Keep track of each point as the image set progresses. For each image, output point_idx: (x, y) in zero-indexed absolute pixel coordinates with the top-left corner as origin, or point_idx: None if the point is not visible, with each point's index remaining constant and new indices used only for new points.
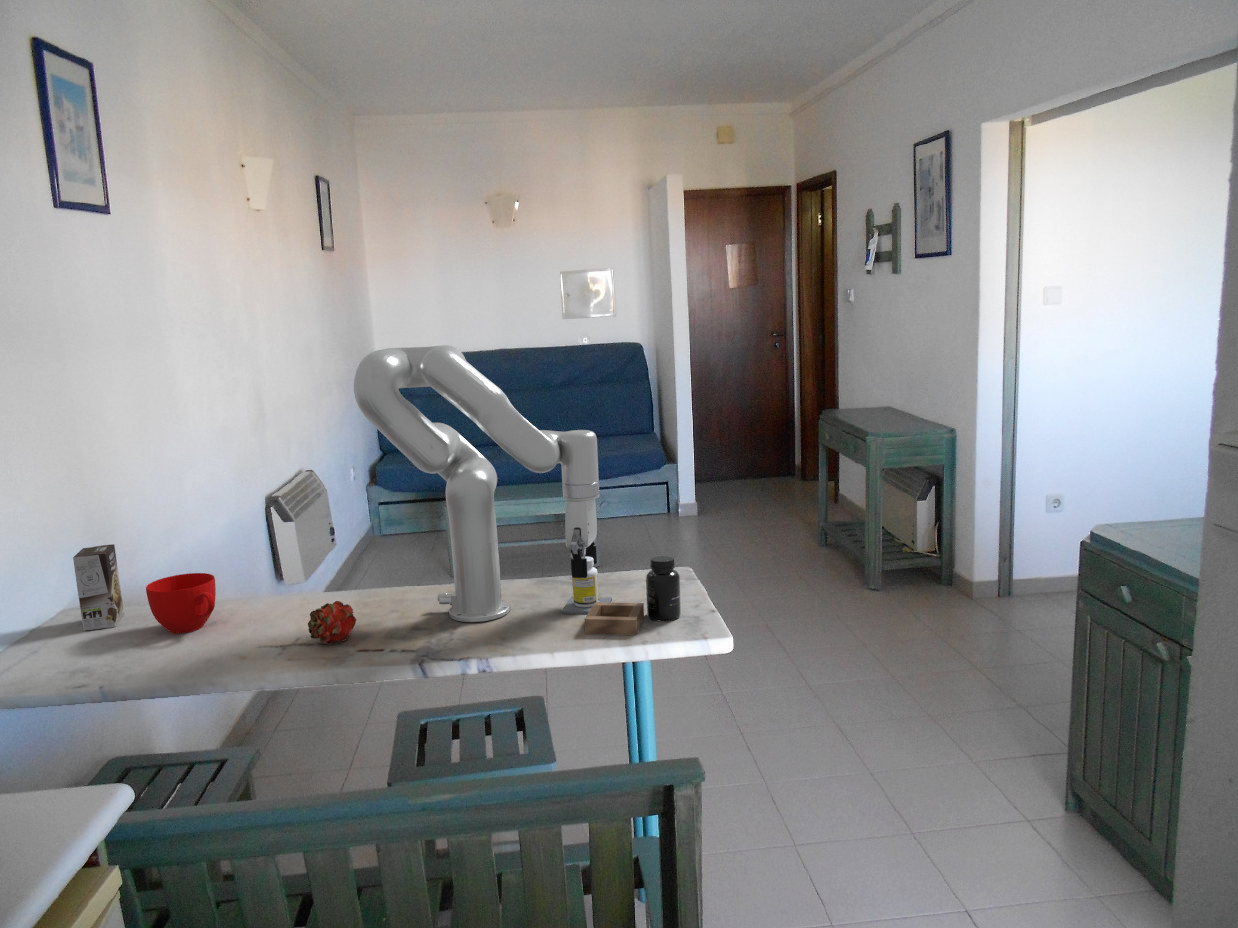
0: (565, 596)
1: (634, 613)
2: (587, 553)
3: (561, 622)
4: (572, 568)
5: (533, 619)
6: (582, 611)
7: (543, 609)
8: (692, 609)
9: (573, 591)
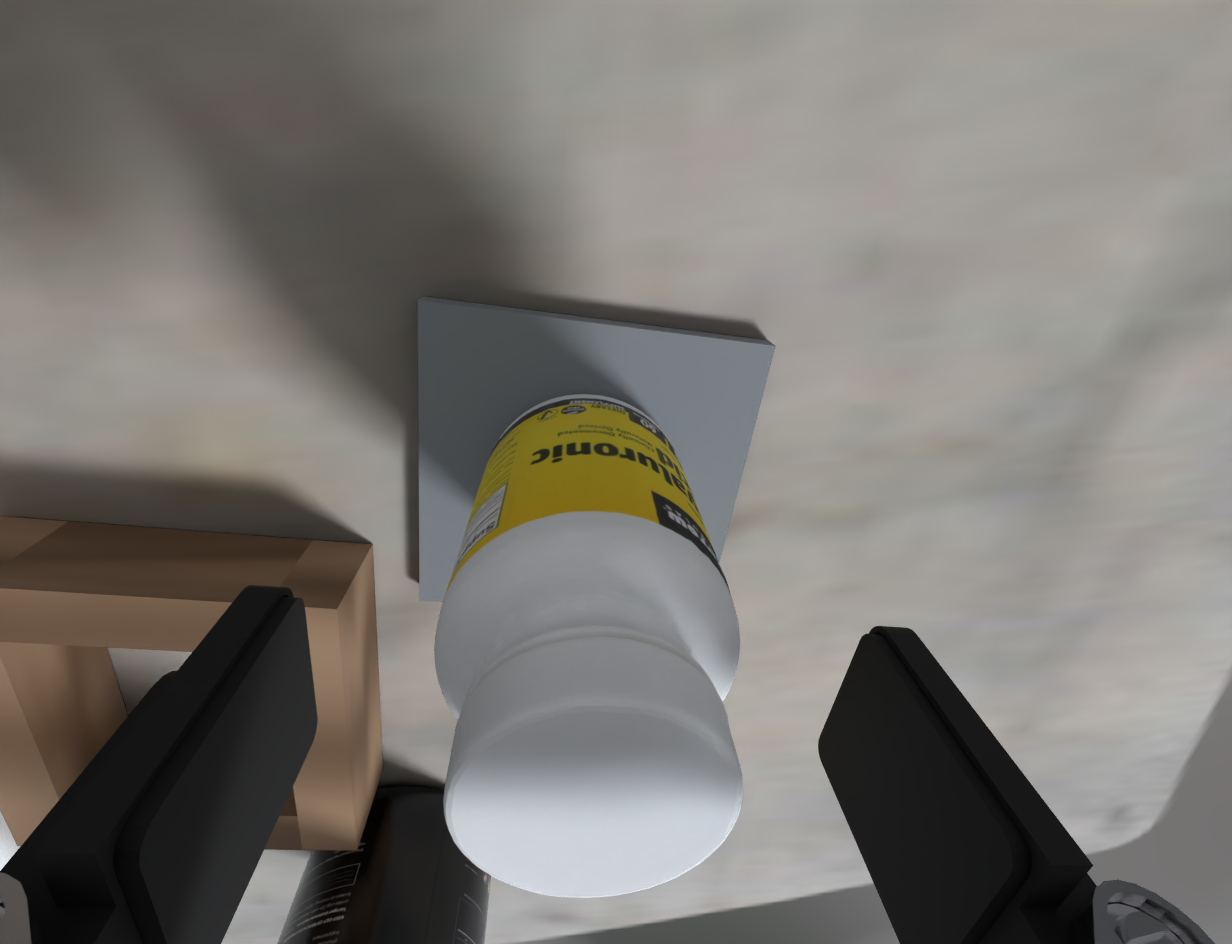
0: (862, 281)
1: None
2: (913, 807)
3: (204, 320)
4: (181, 689)
5: (231, 25)
6: (420, 465)
7: (532, 104)
8: (511, 909)
9: (540, 441)
